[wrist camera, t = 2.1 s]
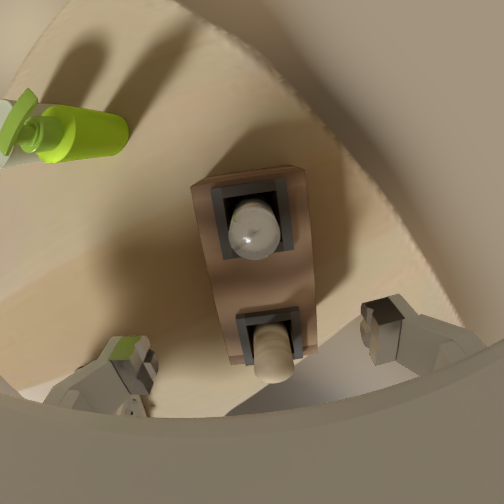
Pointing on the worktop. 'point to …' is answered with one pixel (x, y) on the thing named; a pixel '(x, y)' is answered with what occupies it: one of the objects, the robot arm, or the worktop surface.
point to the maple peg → (272, 352)
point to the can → (17, 155)
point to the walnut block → (260, 261)
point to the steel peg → (253, 228)
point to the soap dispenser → (62, 131)
